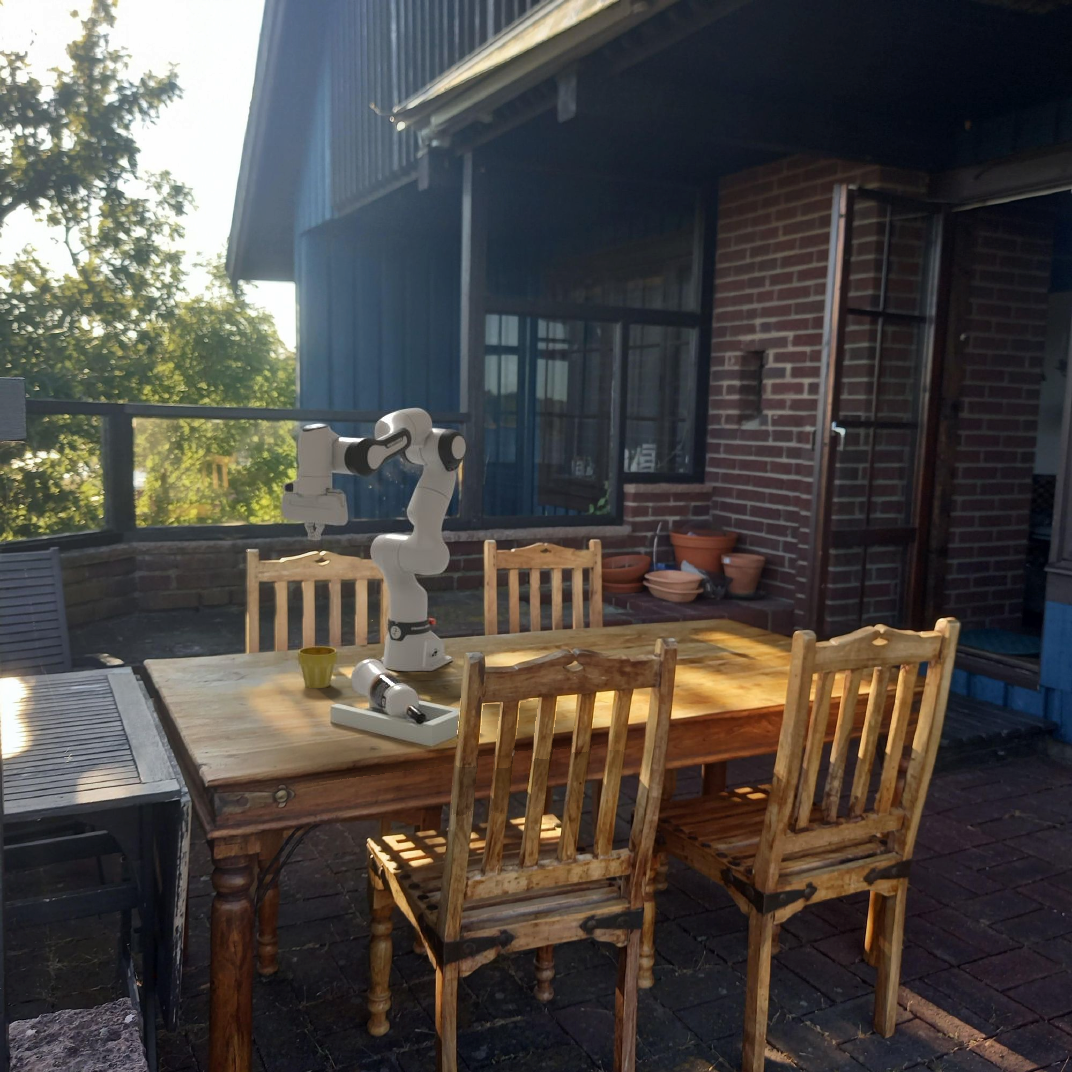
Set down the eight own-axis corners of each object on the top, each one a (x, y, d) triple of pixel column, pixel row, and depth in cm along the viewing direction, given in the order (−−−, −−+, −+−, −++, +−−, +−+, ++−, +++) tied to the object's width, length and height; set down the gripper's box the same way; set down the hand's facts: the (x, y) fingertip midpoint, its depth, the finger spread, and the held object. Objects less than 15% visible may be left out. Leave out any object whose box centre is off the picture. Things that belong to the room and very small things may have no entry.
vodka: (378, 692, 267) (434, 738, 243) (346, 691, 262) (399, 738, 238) (386, 658, 266) (443, 700, 242) (353, 656, 260) (408, 699, 236)
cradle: (375, 706, 267) (375, 687, 266) (473, 728, 251) (474, 708, 251) (330, 721, 252) (330, 701, 252) (431, 746, 237) (432, 725, 236)
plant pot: (298, 691, 278) (299, 655, 277) (296, 681, 288) (297, 646, 286) (338, 689, 281) (338, 654, 279) (334, 679, 290) (335, 645, 289)
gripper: (353, 489, 268) (352, 542, 269) (294, 483, 278) (294, 535, 280) (337, 490, 262) (336, 544, 264) (277, 484, 273) (277, 537, 274)
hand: (314, 539), depth 272 cm, fingers closed
